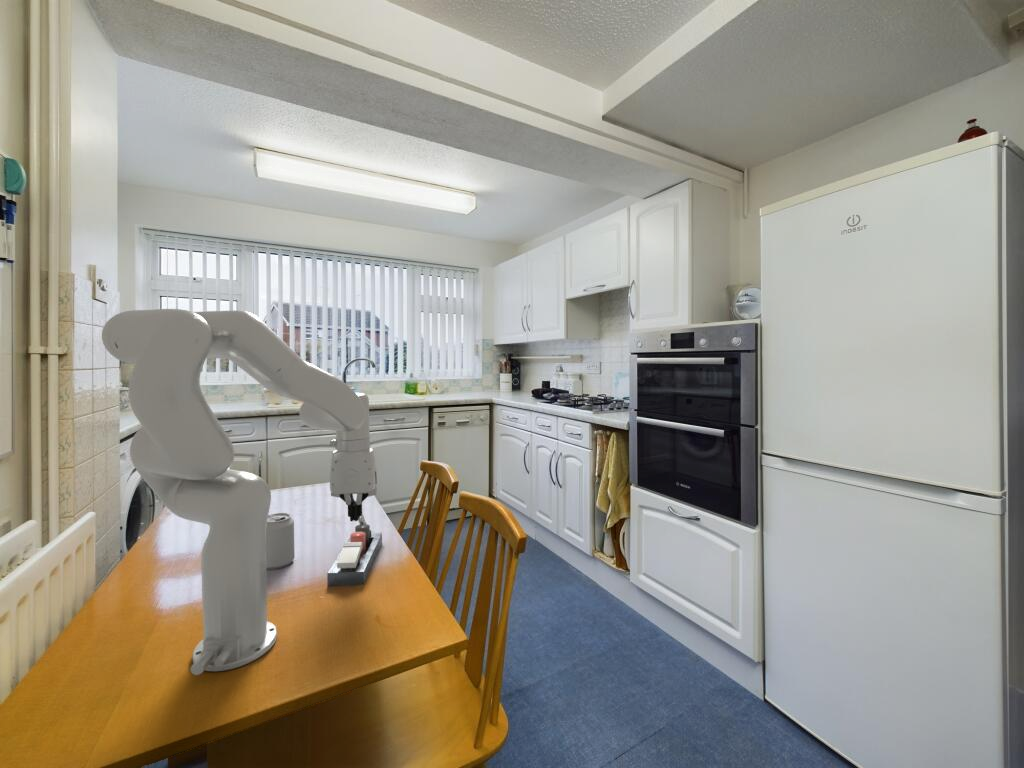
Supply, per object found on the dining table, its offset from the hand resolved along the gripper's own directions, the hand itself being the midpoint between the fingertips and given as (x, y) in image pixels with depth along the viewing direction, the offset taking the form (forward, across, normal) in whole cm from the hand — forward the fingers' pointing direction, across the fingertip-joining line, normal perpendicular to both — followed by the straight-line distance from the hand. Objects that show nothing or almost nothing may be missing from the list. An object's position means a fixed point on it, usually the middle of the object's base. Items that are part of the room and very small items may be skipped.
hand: (355, 518), depth 105 cm
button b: (+10, 0, +9) cm, 13 cm away
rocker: (+7, 0, -4) cm, 8 cm away
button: (+10, 0, +4) cm, 11 cm away
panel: (+13, 0, +3) cm, 13 cm away
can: (+13, -20, +4) cm, 24 cm away
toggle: (+9, 0, +13) cm, 15 cm away
